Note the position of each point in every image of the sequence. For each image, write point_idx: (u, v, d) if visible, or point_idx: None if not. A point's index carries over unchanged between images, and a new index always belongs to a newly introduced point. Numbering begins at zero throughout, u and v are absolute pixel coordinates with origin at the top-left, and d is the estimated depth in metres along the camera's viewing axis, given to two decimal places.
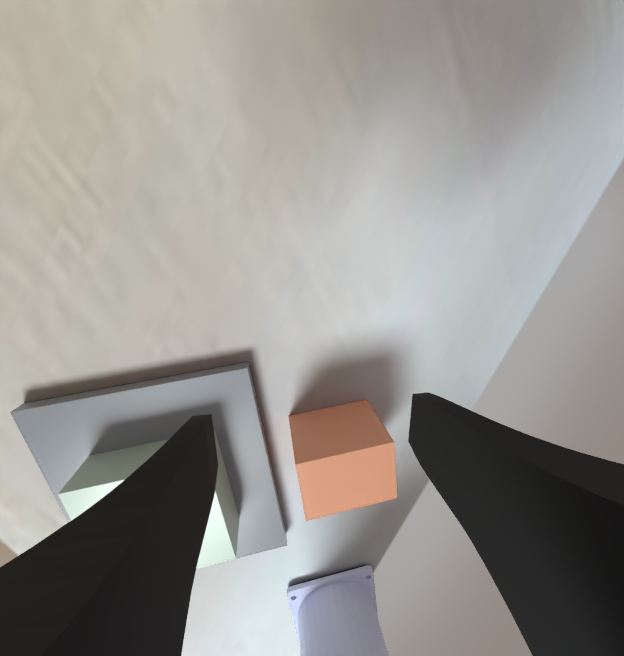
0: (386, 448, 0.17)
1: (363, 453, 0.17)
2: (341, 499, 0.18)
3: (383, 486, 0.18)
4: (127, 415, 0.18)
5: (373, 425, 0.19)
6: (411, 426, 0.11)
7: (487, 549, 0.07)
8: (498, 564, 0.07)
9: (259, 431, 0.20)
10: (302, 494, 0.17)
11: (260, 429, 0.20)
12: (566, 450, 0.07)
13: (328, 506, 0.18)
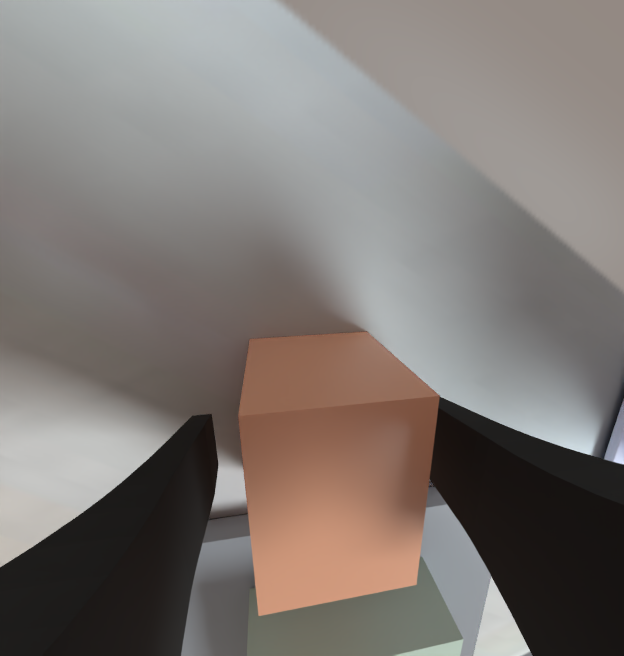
0: (256, 435, 0.06)
1: (260, 490, 0.06)
2: (387, 526, 0.07)
3: (384, 435, 0.07)
4: None
5: None
6: None
7: (487, 549, 0.07)
8: (498, 564, 0.07)
9: None
10: (343, 597, 0.08)
11: None
12: (566, 450, 0.07)
13: (396, 549, 0.08)
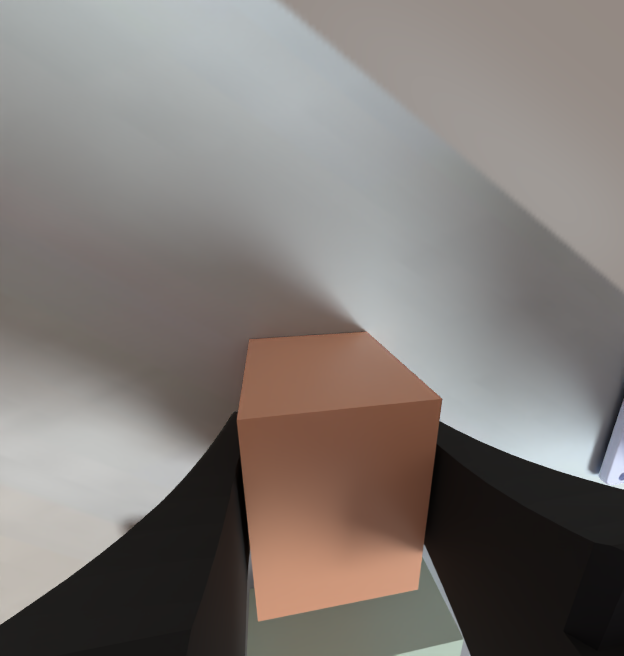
0: (255, 439, 0.06)
1: (259, 494, 0.06)
2: (388, 530, 0.07)
3: (385, 438, 0.06)
4: None
5: None
6: None
7: (438, 558, 0.07)
8: (447, 574, 0.07)
9: None
10: (343, 602, 0.08)
11: None
12: (514, 457, 0.06)
13: (397, 554, 0.08)
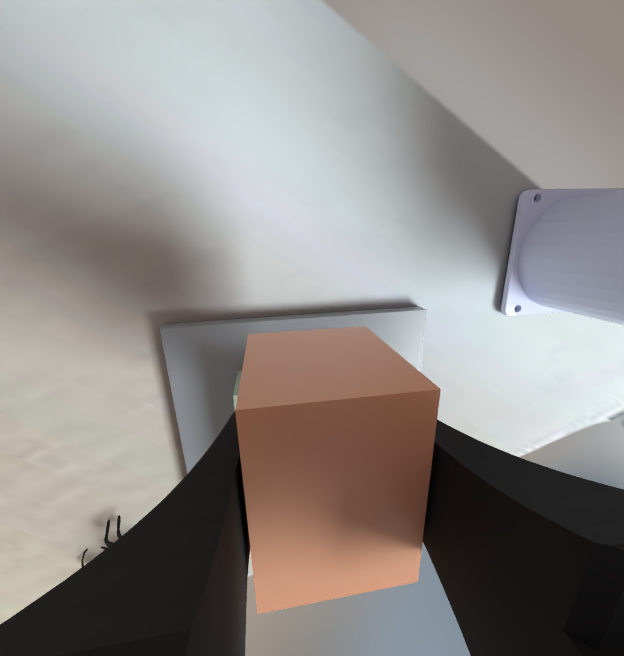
0: (254, 430, 0.06)
1: (258, 485, 0.06)
2: (387, 522, 0.07)
3: (384, 429, 0.06)
4: (209, 443, 0.19)
5: None
6: None
7: (439, 558, 0.07)
8: (448, 574, 0.07)
9: (248, 325, 0.17)
10: (343, 595, 0.08)
11: (246, 323, 0.17)
12: (515, 457, 0.06)
13: (396, 545, 0.08)
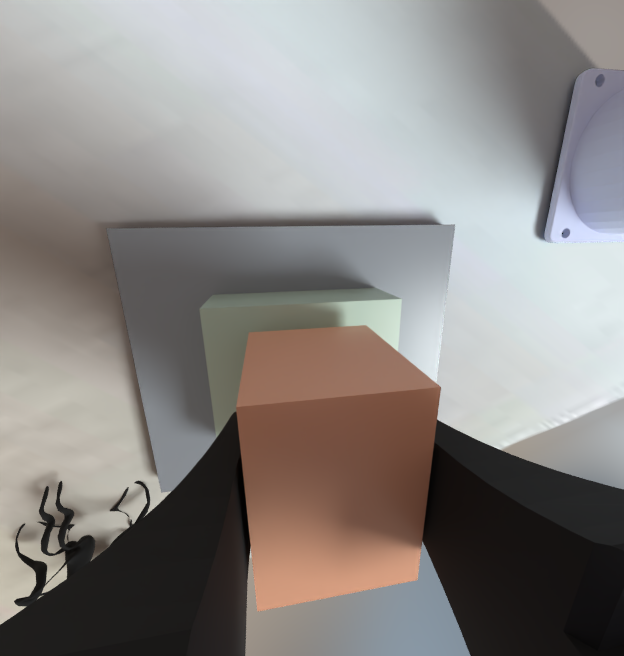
0: (254, 427, 0.06)
1: (258, 482, 0.06)
2: (387, 520, 0.07)
3: (384, 427, 0.06)
4: (176, 391, 0.15)
5: None
6: None
7: (438, 558, 0.07)
8: (447, 574, 0.07)
9: (226, 231, 0.13)
10: (343, 593, 0.08)
11: (222, 228, 0.13)
12: (514, 457, 0.06)
13: (396, 543, 0.08)
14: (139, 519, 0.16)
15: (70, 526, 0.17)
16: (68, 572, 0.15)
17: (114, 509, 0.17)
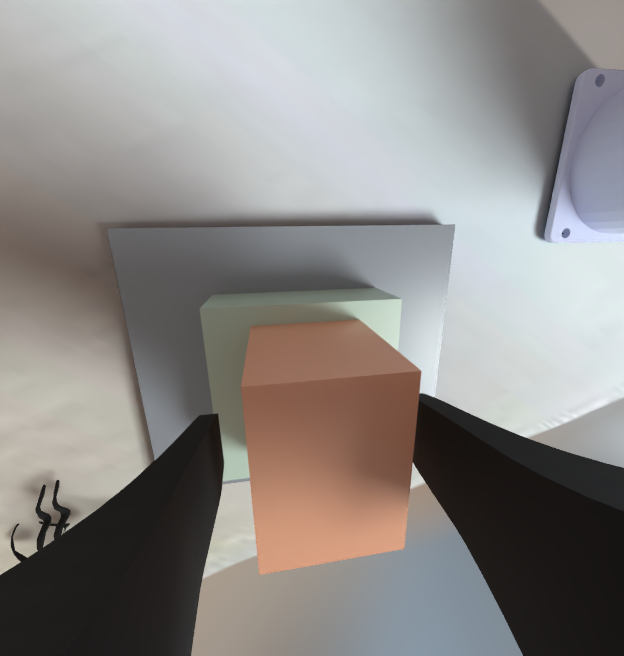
0: (257, 405, 0.07)
1: (260, 454, 0.07)
2: (376, 492, 0.08)
3: (371, 406, 0.07)
4: (176, 391, 0.15)
5: None
6: None
7: (480, 550, 0.07)
8: (490, 565, 0.07)
9: (226, 231, 0.13)
10: (336, 559, 0.09)
11: (223, 228, 0.13)
12: (558, 451, 0.07)
13: (384, 514, 0.08)
14: None
15: (66, 525, 0.17)
16: None
17: None
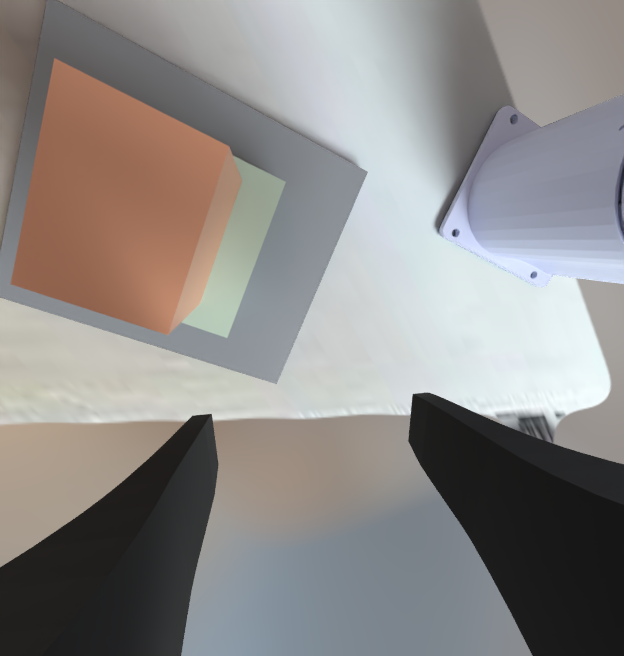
0: (64, 87, 0.07)
1: (52, 144, 0.08)
2: (156, 253, 0.09)
3: (175, 155, 0.08)
4: None
5: None
6: (411, 426, 0.11)
7: (487, 549, 0.07)
8: (498, 564, 0.07)
9: (164, 63, 0.14)
10: (96, 309, 0.09)
11: (162, 60, 0.14)
12: (566, 450, 0.07)
13: (158, 283, 0.09)
14: None
15: None
16: None
17: None
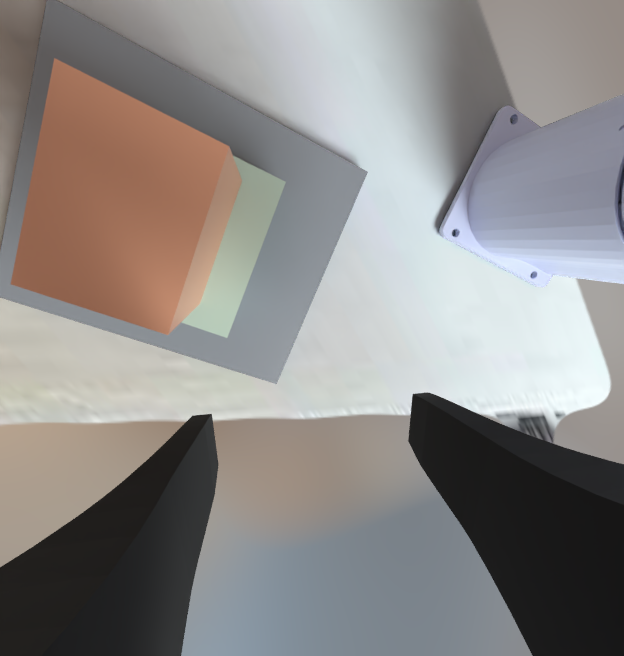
0: (64, 87, 0.07)
1: (52, 144, 0.08)
2: (156, 253, 0.09)
3: (175, 155, 0.08)
4: None
5: None
6: (411, 426, 0.11)
7: (487, 549, 0.07)
8: (498, 564, 0.07)
9: (164, 63, 0.14)
10: (96, 309, 0.09)
11: (162, 60, 0.14)
12: (566, 450, 0.07)
13: (158, 283, 0.09)
14: None
15: None
16: None
17: None
